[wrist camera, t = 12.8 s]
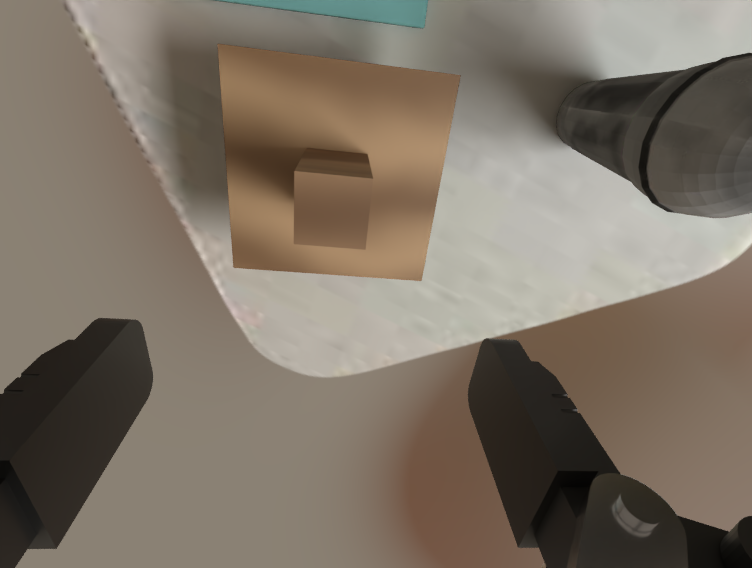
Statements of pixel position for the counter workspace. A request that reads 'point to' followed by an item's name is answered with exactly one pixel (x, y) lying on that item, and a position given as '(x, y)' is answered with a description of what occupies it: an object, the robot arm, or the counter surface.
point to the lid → (332, 162)
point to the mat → (354, 9)
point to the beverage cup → (672, 134)
